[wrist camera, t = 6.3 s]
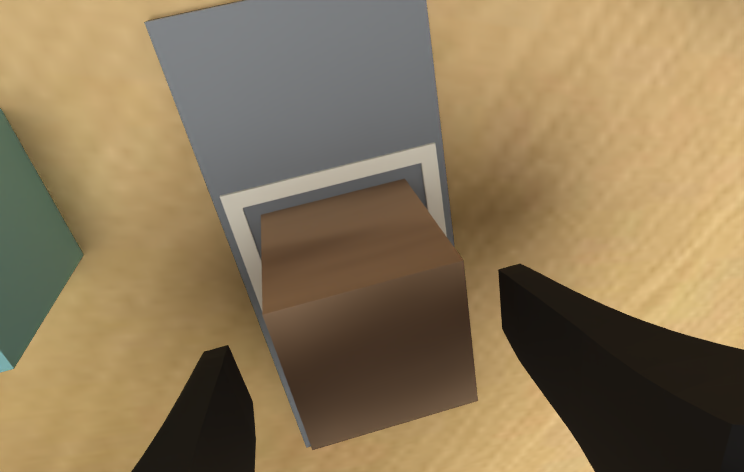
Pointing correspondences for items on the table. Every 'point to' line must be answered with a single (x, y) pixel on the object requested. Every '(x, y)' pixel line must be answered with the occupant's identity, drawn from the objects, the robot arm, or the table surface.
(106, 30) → the table surface
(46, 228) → the teal block
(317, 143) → the grey board with square
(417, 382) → the walnut block
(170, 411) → the robot arm
